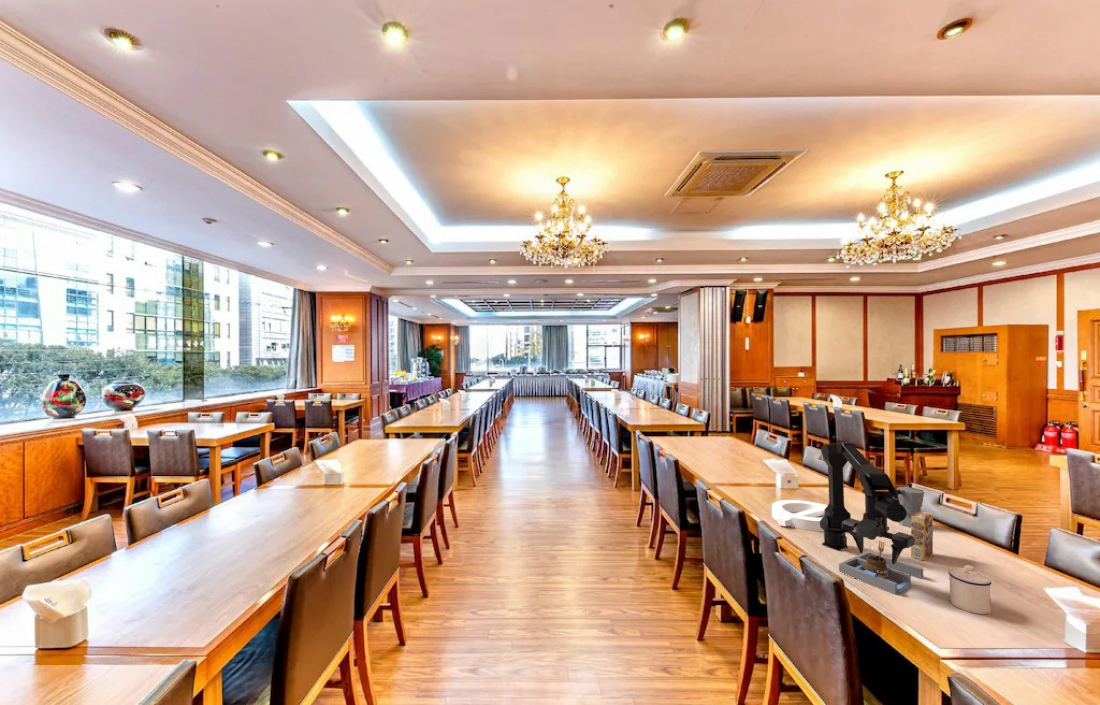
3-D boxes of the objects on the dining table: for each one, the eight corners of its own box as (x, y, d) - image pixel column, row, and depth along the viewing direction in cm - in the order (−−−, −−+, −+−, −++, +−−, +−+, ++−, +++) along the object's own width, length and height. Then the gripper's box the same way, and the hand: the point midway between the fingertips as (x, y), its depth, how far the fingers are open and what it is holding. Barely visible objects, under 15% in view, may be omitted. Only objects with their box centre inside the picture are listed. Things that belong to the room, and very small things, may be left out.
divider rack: (839, 572, 148) (839, 562, 148) (868, 558, 158) (868, 548, 158) (895, 594, 134) (895, 582, 134) (924, 577, 144) (923, 567, 144)
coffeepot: (912, 519, 196) (911, 479, 196) (934, 527, 186) (933, 485, 187) (884, 522, 192) (883, 481, 193) (905, 530, 183) (904, 487, 183)
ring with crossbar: (778, 528, 187) (778, 517, 187) (766, 507, 214) (766, 497, 214) (854, 535, 179) (854, 524, 179) (831, 512, 206) (831, 502, 206)
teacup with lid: (1001, 616, 122) (1000, 574, 122) (964, 614, 123) (963, 572, 124) (967, 594, 134) (966, 555, 134) (934, 591, 135) (933, 554, 136)
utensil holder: (861, 577, 144) (860, 541, 145) (873, 573, 147) (872, 538, 147) (880, 585, 139) (879, 548, 139) (892, 581, 141) (891, 544, 142)
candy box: (925, 561, 155) (924, 518, 155) (910, 557, 159) (909, 515, 159) (934, 555, 160) (933, 513, 160) (919, 551, 164) (918, 510, 164)
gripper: (832, 506, 147) (833, 553, 147) (898, 524, 131) (899, 577, 131) (849, 501, 153) (850, 546, 152) (915, 517, 136) (916, 567, 136)
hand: (877, 558), depth 143 cm, fingers open, 9 cm apart
